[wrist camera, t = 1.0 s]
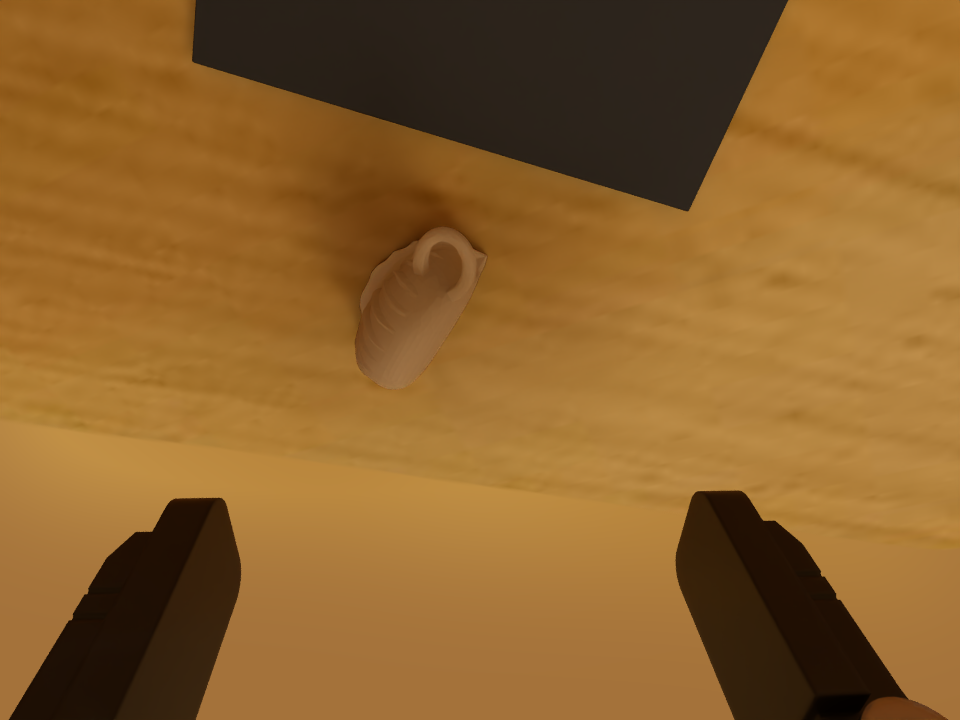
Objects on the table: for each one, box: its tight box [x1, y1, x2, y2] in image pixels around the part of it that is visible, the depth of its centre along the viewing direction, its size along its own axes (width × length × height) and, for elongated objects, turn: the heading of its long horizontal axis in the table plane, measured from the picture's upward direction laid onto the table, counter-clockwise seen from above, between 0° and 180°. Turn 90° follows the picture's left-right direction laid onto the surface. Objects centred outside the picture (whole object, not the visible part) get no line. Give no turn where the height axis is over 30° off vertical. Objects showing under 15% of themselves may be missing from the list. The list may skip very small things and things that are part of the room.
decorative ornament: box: [355, 227, 487, 389], centre depth 24 cm, size 4×8×5 cm, turn 147°
